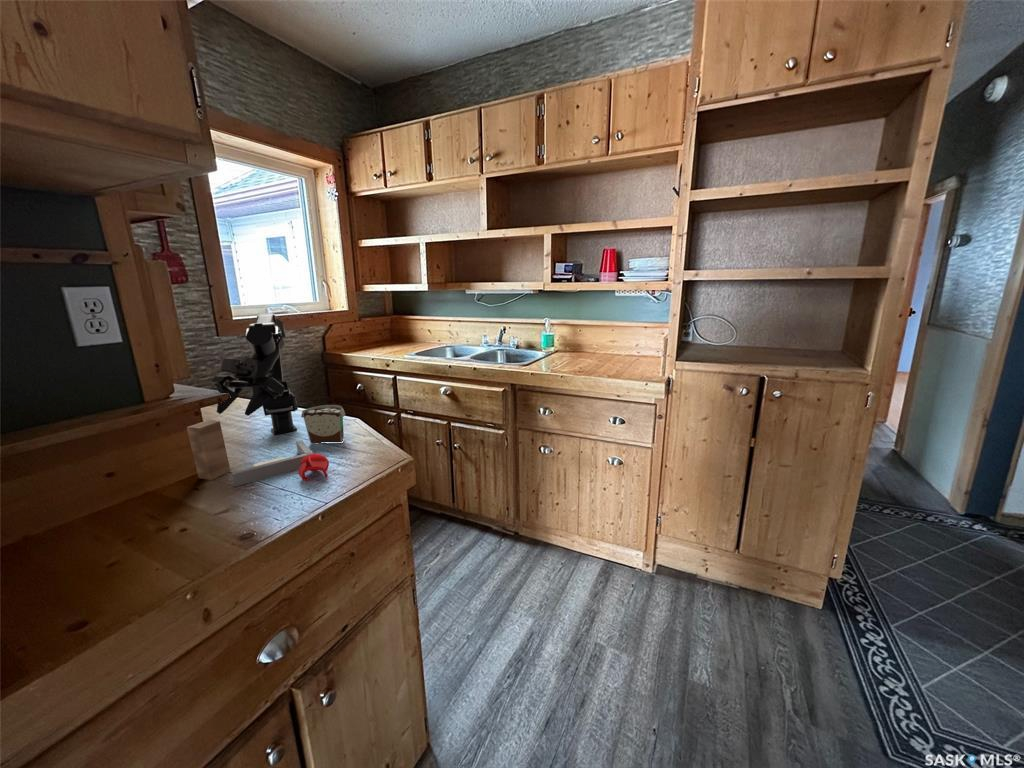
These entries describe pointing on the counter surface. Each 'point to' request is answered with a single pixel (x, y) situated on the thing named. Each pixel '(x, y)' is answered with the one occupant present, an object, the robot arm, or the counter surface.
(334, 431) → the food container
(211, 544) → the counter surface
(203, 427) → the walnut block
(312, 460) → the cap
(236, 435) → the counter surface
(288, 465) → the grey long angled bar
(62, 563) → the counter surface
